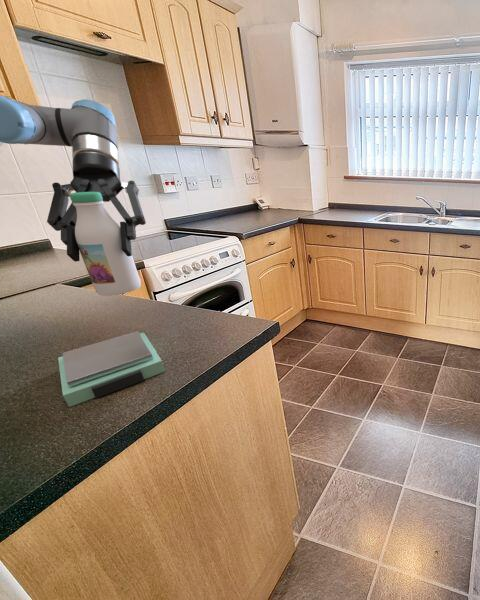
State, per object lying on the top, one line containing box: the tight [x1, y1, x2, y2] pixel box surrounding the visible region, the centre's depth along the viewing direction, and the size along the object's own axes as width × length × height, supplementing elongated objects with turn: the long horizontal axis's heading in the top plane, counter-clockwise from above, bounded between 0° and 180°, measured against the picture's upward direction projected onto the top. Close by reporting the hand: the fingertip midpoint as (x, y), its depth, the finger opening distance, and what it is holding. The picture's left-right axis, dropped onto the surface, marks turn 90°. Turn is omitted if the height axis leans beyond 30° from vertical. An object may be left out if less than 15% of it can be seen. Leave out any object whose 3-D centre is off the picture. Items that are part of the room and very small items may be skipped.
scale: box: [57, 332, 166, 408], centre depth 65 cm, size 17×14×2 cm
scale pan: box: [62, 330, 153, 387], centre depth 65 cm, size 13×12×1 cm
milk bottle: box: [69, 192, 142, 297], centre depth 68 cm, size 8×8×20 cm
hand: (100, 255), depth 66 cm, fingers closed on milk bottle, 8 cm apart
